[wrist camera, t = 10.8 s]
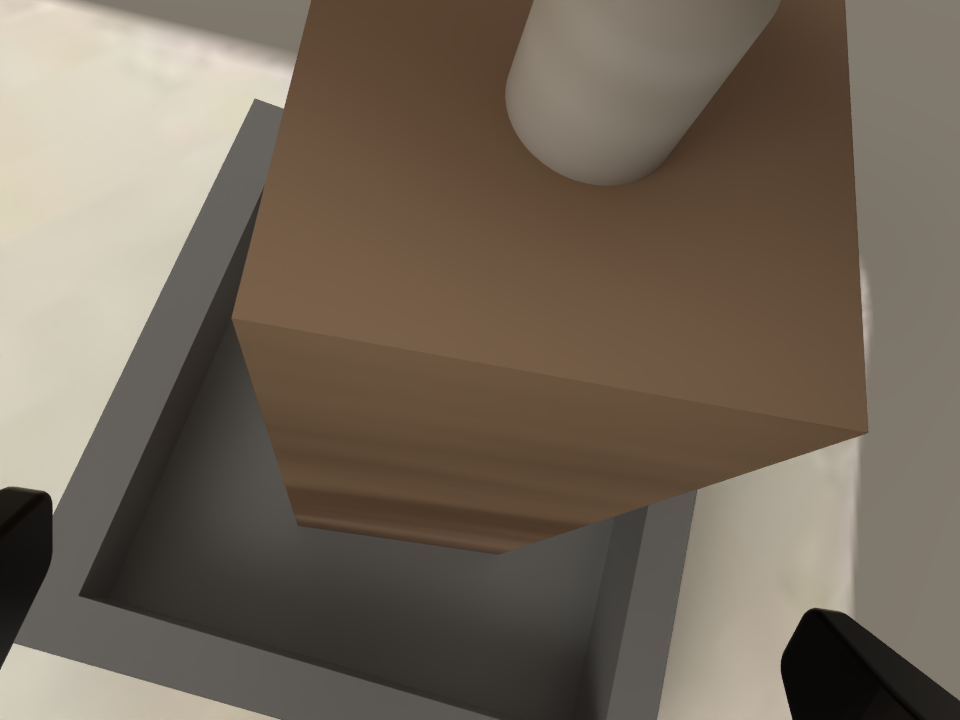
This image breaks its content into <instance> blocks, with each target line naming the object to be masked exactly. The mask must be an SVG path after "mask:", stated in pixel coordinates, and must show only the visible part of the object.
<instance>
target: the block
mask: <svg viewBox="0 0 960 720" xmlns="http://www.w3.org/2000/svg"><path fill="white" fill-rule="evenodd" d="M845 10H846V9H845V0H311V4H310V8H309V12H308V16H307V20H306V24H305V28H304V32H303V36H302V40H301V44H300V48H299V52H298V56H297V60H296V64H295V68H294V72H293V76H292V80H291V84H290V87H289V91H288V95H287V99H286V103H285V107H284V111H283V115H282V119H281V123H280V127H279V131H278V135H277V139H276V143H275V147H274V151H273V155H272V159H271V163H270V167H269V171H268V175H267V179H266V183H265V187H264V191H263V195H262V198H261V202H260V206H259V210H258V214H257V218H256V222H255V226H254V230H253V234H252V238H251V242H250V246H249V250H248V254H247V258H246V262H245V266H244V270H243V274H242V278H241V282H240V286H239V290H238V294H237V298H236V302H235V306H234V310H233V313H232V317H231V318H232V322H233V325H234V328H235V331H236V334H237V337H238V340H239V343H240V347H241V350H242V353H243V356H244V359H245V362H246V365H247V369H248V372H249V375H250V378H251V381H252V384H253V387H254V390H255V394H256V397H257V400H258V403H259V406H260V409H261V412H262V416H263V419H264V422H265V425H266V428H267V431H268V434H269V437H270V441H271V444H272V447H273V450H274V453H275V456H276V459H277V463H278V466H279V469H280V472H281V475H282V478H283V481H284V484H285V488H286V491H287V494H288V497H289V500H290V503H291V506H292V510H293V513H294V516H295V519H296V522H297V525H298V526H302V527H309V528H316V529H323V530H330V531H337V532H344V533H351V534H358V535H365V536H371V537H378V538H385V539H392V540H399V541H406V542H413V543H420V544H427V545H434V546H441V547H448V548H455V549H462V550H469V551H476V552H482V553H489V554H496V555H499V554H502V553H505V552H508V551H511V550H514V549H517V548H521V547H524V546H527V545H530V544H533V543H536V542H539V541H542V540H545V539H548V538H551V537H554V536H557V535H560V534H563V533H566V532H569V531H572V530H575V529H578V528H581V527H584V526H587V525H590V524H593V523H596V522H599V521H602V520H605V519H609V518H612V517H615V516H618V515H621V514H624V513H627V512H630V511H633V510H636V509H639V508H642V507H645V506H648V505H651V504H654V503H657V502H660V501H663V500H666V499H669V498H672V497H675V496H678V495H681V494H684V493H687V492H690V491H693V490H696V489H700V488H703V487H706V486H709V485H712V484H715V483H718V482H721V481H724V480H727V479H730V478H733V477H736V476H739V475H742V474H745V473H748V472H751V471H754V470H757V469H760V468H763V467H766V466H769V465H772V464H775V463H778V462H781V461H784V460H788V459H791V458H794V457H797V456H800V455H803V454H806V453H809V452H812V451H815V450H818V449H821V448H824V447H827V446H830V445H833V444H836V443H839V442H842V441H845V440H848V439H851V438H854V437H857V436H860V435H863V434H866V433H868V418H867V398H866V380H865V361H864V343H863V324H862V306H861V287H860V269H859V250H858V232H857V214H856V195H855V176H854V160H853V159H854V158H853V140H852V121H851V104H850V103H851V102H850V85H849V67H848V66H849V65H848V49H847V48H848V47H847V30H846V29H847V28H846V11H845Z"/></svg>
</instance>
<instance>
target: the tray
mask: <svg viewBox="0 0 960 720" xmlns="http://www.w3.org/2000/svg"><path fill="white" fill-rule="evenodd" d="M283 111H284V109H283V108H280V107H277V106H274V105H272V104H269V103H266V102H263V101H260V100H258V99H254V101H253V103H252V105H251V108H250V110H249V112H248V114H247V116H246V118H245V120H244V122H243V124H242V126H241V128H240V130H239V132H238V134H237V136H236V139H235V141H234V143H233V145H232V147H231V149H230V151H229V153H228V155H227V157H226V159H225V161H224V163H223V165H222V167H221V170H220V172H219V174H218V176H217V178H216V180H215V182H214V184H213V186H212V188H211V190H210V192H209V194H208V196H207V198H206V200H205V203H204V205H203V207H202V209H201V211H200V213H199V215H198V217H197V219H196V221H195V223H194V225H193V227H192V229H191V231H190V234H189V236H188V238H187V240H186V242H185V244H184V246H183V248H182V250H181V252H180V254H179V256H178V258H177V260H176V262H175V265H174V267H173V269H172V271H171V273H170V275H169V277H168V279H167V281H166V283H165V285H164V287H163V289H162V291H161V293H160V296H159V298H158V300H157V302H156V304H155V306H154V308H153V310H152V312H151V314H150V316H149V318H148V320H147V322H146V324H145V326H144V329H143V331H142V333H141V335H140V337H139V339H138V341H137V343H136V345H135V347H134V349H133V351H132V353H131V355H130V357H129V360H128V362H127V364H126V366H125V368H124V370H123V372H122V374H121V376H120V378H119V380H118V382H117V384H116V386H115V388H114V391H113V393H112V395H111V397H110V399H109V401H108V403H107V405H106V407H105V409H104V411H103V413H102V415H101V417H100V419H99V421H98V424H97V426H96V428H95V430H94V432H93V434H92V436H91V438H90V440H89V442H88V444H87V446H86V448H85V450H84V452H83V455H82V457H81V459H80V461H79V463H78V465H77V467H76V469H75V471H74V473H73V475H72V477H71V479H70V481H69V483H68V486H67V488H66V490H65V492H64V494H63V496H62V498H61V500H60V502H59V504H58V506H57V508H56V510H55V512H54V514H53V554H52V560H51V564H50V567H49V570H48V572H47V575H46V577H45V579H44V581H43V583H42V585H41V587H40V589H39V591H38V593H37V595H36V597H35V599H34V601H33V603H32V606H31V608H30V610H29V612H28V614H27V616H26V618H25V620H24V622H23V624H22V626H21V628H20V630H19V632H18V634H17V636H16V638H15V640H14V643H15V644H19V645H22V646H26V647H29V648H33V649H36V650H40V651H43V652H47V653H50V654H54V655H57V656H61V657H64V658H68V659H71V660H75V661H78V662H82V663H85V664H89V665H92V666H96V667H99V668H103V669H106V670H110V671H113V672H117V673H120V674H124V675H127V676H131V677H134V678H138V679H141V680H145V681H148V682H152V683H155V684H159V685H162V686H166V687H169V688H173V689H176V690H180V691H183V692H187V693H190V694H193V695H197V696H200V697H204V698H207V699H211V700H214V701H218V702H221V703H225V704H228V705H232V706H235V707H239V708H242V709H246V710H249V711H253V712H256V713H260V714H263V715H267V716H270V717H274V718H277V719H281V720H657V716H658V710H659V704H660V699H661V693H662V687H663V681H664V676H665V670H666V664H667V659H668V653H669V647H670V642H671V636H672V630H673V624H674V619H675V613H676V607H677V602H678V596H679V590H680V584H681V579H682V573H683V567H684V562H685V556H686V550H687V545H688V539H689V533H690V527H691V522H692V516H693V510H694V505H695V499H696V493H697V489H696V490H693V491H690V492H687V493H684V494H681V495H678V496H675V497H672V498H669V499H666V500H663V501H660V502H657V503H654V504H651V505H648V506H645V507H642V508H639V509H636V510H633V511H630V512H627V513H624V514H621V515H618V516H615V517H612V518H609V519H605V520H602V521H599V522H596V523H593V524H590V525H587V526H584V527H581V528H578V529H575V530H572V531H569V532H566V533H563V534H560V535H557V536H554V537H551V538H548V539H545V540H542V541H539V542H536V543H533V544H530V545H527V546H524V547H521V548H517V549H514V550H511V551H508V552H505V553H502V554H499V555H496V554H489V553H482V552H476V551H469V550H462V549H455V548H448V547H441V546H434V545H427V544H420V543H413V542H406V541H399V540H392V539H385V538H378V537H371V536H365V535H358V534H351V533H344V532H337V531H330V530H323V529H316V528H309V527H302V526H298V525H297V522H296V519H295V516H294V513H293V510H292V506H291V503H290V500H289V497H288V494H287V491H286V488H285V484H284V481H283V478H282V475H281V472H280V469H279V466H278V463H277V459H276V456H275V453H274V450H273V447H272V444H271V441H270V437H269V434H268V431H267V428H266V425H265V422H264V419H263V416H262V412H261V409H260V406H259V403H258V400H257V397H256V394H255V390H254V387H253V384H252V381H251V378H250V375H249V372H248V369H247V365H246V362H245V359H244V356H243V353H242V350H241V347H240V343H239V340H238V337H237V334H236V331H235V328H234V325H233V322H232V318H231V317H232V313H233V310H234V306H235V302H236V298H237V294H238V290H239V286H240V282H241V278H242V274H243V270H244V266H245V262H246V258H247V254H248V250H249V246H250V242H251V238H252V234H253V230H254V226H255V222H256V218H257V214H258V210H259V206H260V202H261V198H262V195H263V191H264V187H265V183H266V179H267V175H268V171H269V167H270V163H271V159H272V155H273V151H274V147H275V143H276V139H277V135H278V131H279V127H280V123H281V119H282V115H283Z"/></svg>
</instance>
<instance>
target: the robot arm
mask: <svg viewBox="0 0 960 720" xmlns="http://www.w3.org/2000/svg"><path fill="white" fill-rule="evenodd" d="M52 554H53V510H52V500H51V497H50V495H49V494H48V493H46V492H45V491H41V490H34V489H27V488H21V487H6V488H4V489H1V490H0V669H1V667H2V665H3V663H4V661H5V659H6V657H7V655H8V653H9V651H10V649H11V647H12V645H13V643H14V640H15V638H16V636H17V634H18V632H19V630H20V628H21V626H22V624H23V622H24V620H25V618H26V616H27V614H28V612H29V610H30V608H31V606H32V603H33V601H34V599H35V597H36V595H37V593H38V591H39V589H40V587H41V585H42V583H43V581H44V579H45V577H46V575H47V572H48V570H49V567H50V564H51V560H52ZM781 675H782V680H783V684H784V688H785V692H786V696H787V700H788V704H789V708H790V712H791V716H792V720H960V701H959V700H958V699H957V698H955V697H954V696H953V695H951V694H950V693H949V692H947V691H946V690H945V689H944V688H942V687H941V686H940V685H938V684H937V683H936V682H934V681H933V680H932V679H930V678H929V677H928V676H927V675H925V674H924V673H923V672H921V671H920V670H919V669H917V668H916V667H915V666H913V665H912V664H911V663H909V662H908V661H907V660H906V659H904V658H903V657H901V656H900V655H899V654H898V653H896V652H895V651H894V650H892V649H891V648H889V647H888V646H887V645H886V644H885V643H883V642H882V641H881V640H879V639H878V638H877V637H875V636H874V635H873V634H871V633H870V632H869V631H868V630H866V629H865V628H863V627H862V626H861V625H859V624H858V623H857V622H856V621H854V620H853V619H852V618H850V617H849V616H848V615H846V614H844V613H842V612H839V611H833V610H827V609H820V608H813V609H810V610H808V611H807V612H806V613H805V614H804V615H803V617H802V618H801V620H800V622H799V624H798V626H797V628H796V630H795V632H794V633H793V635H792V637H791V639H790V641H789V643H788V645H787V647H786V648H785V650H784V652H783V655H782V659H781Z"/></svg>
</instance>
